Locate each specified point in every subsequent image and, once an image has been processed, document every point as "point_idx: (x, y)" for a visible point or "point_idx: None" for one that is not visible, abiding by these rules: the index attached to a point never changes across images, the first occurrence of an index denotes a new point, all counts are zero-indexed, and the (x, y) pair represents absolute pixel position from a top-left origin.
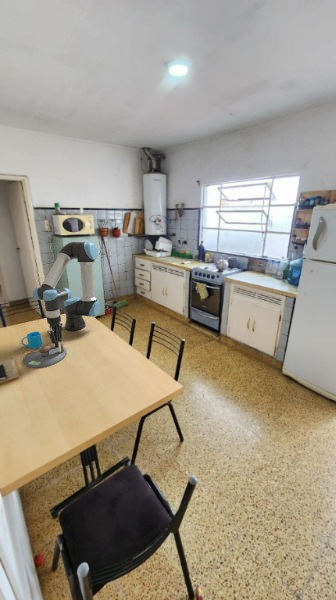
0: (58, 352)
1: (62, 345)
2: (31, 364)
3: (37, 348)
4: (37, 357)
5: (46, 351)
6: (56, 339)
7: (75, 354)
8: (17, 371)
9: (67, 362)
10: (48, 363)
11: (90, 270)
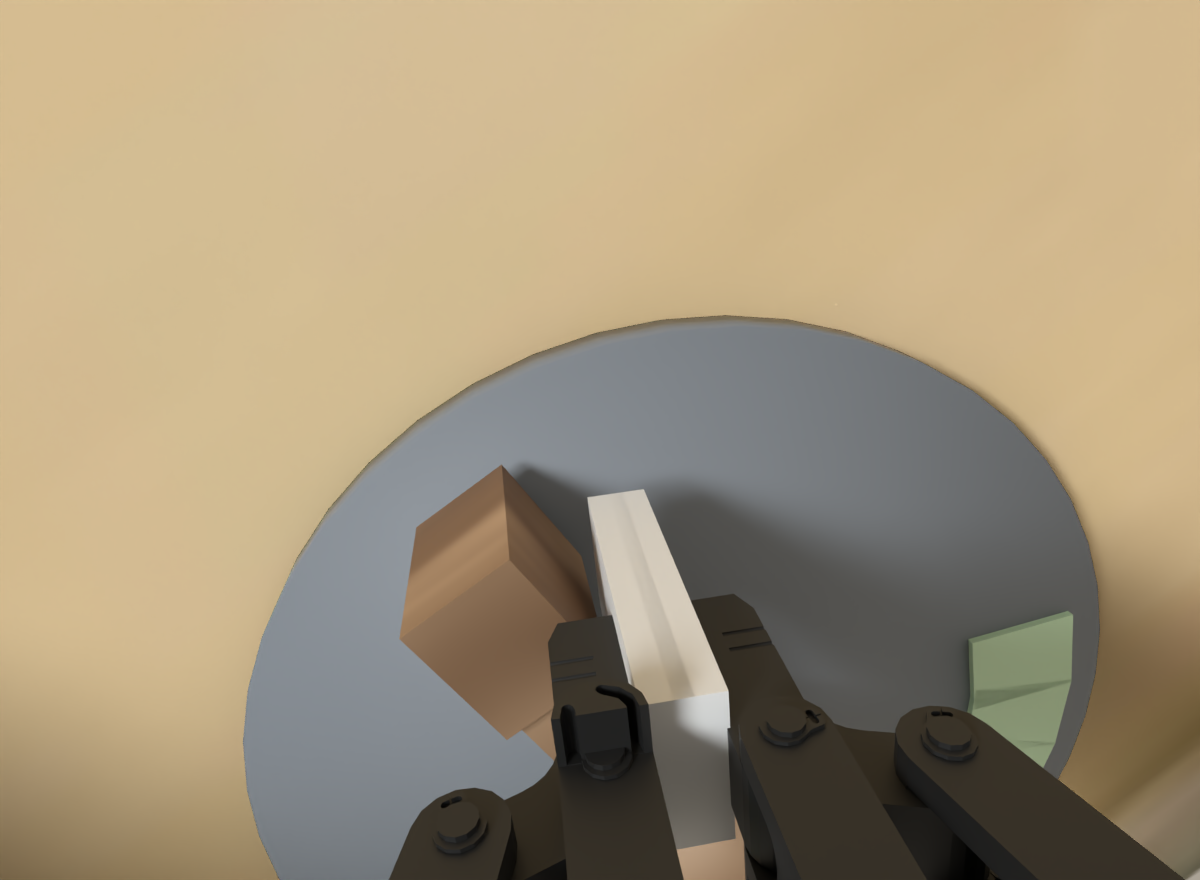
0: None
1: (509, 569)
2: (1055, 735)
3: None
4: None
5: None
6: (911, 876)
7: (431, 104)
8: (1152, 792)
9: (846, 93)
10: (1011, 473)
11: None
